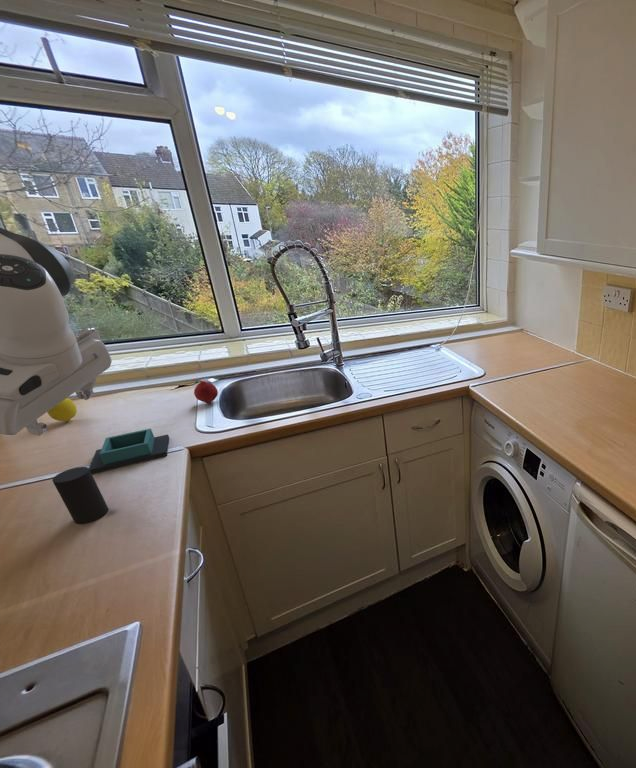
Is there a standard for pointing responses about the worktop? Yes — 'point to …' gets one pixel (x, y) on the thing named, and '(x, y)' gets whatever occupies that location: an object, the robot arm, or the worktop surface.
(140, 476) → the worktop surface
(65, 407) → the lemon
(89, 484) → the pad post
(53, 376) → the robot arm
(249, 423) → the worktop surface
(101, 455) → the base pad
